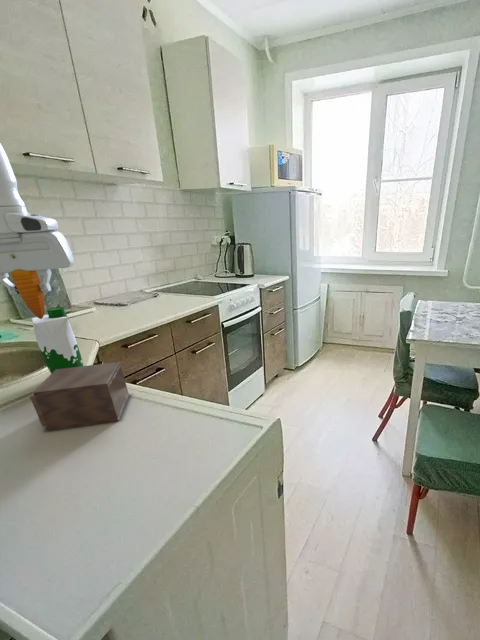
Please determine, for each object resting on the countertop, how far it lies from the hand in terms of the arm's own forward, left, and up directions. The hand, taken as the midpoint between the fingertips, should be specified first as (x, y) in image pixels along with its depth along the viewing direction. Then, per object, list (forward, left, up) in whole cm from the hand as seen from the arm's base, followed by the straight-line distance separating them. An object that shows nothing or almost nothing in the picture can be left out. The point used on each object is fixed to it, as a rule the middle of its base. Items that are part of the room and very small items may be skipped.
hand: (31, 292), depth 77 cm
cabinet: (+7, -7, -28) cm, 29 cm away
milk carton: (-6, +18, -28) cm, 34 cm away
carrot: (0, 0, -6) cm, 6 cm away
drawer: (+4, -7, -27) cm, 28 cm away
